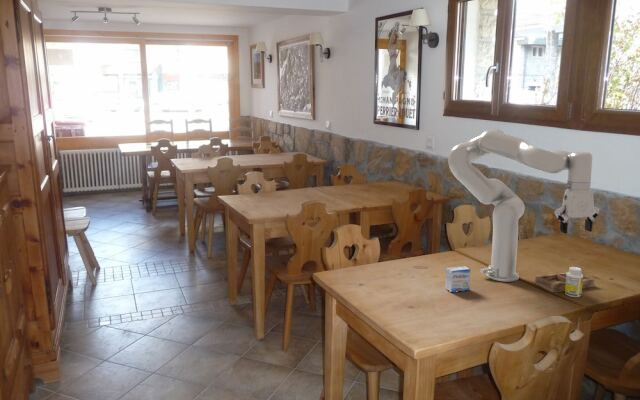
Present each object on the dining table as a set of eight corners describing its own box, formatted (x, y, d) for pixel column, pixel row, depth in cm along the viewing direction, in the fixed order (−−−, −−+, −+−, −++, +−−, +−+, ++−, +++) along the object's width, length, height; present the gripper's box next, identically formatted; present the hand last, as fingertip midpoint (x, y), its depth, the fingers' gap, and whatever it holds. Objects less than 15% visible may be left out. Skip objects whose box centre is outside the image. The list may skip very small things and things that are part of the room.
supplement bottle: (575, 291, 192) (578, 265, 190) (584, 297, 187) (587, 270, 185) (561, 292, 192) (563, 266, 190) (569, 298, 186) (572, 271, 184)
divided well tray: (552, 292, 192) (552, 284, 191) (535, 283, 201) (535, 276, 200) (593, 286, 197) (594, 279, 196) (575, 278, 206) (575, 271, 205)
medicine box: (450, 293, 192) (451, 271, 190) (444, 288, 196) (445, 267, 194) (469, 290, 194) (470, 269, 192) (463, 286, 198) (464, 265, 196)
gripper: (562, 189, 182) (559, 235, 185) (607, 186, 184) (604, 232, 187) (550, 185, 189) (548, 230, 193) (594, 183, 191) (591, 227, 195)
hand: (575, 231), depth 190 cm, fingers open, 9 cm apart
